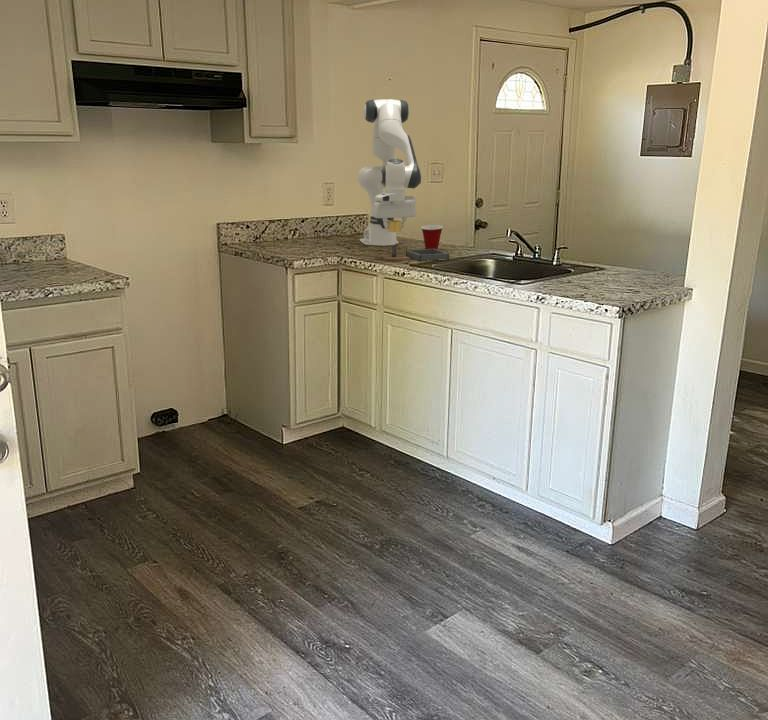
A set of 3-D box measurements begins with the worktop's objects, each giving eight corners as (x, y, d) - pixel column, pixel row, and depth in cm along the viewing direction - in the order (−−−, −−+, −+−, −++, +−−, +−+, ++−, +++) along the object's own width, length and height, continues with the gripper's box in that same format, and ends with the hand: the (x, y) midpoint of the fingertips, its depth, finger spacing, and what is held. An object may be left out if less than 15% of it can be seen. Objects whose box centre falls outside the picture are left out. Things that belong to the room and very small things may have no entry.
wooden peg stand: (378, 257, 352) (378, 243, 350) (399, 256, 357) (400, 242, 355) (388, 261, 343) (388, 247, 341) (410, 259, 347) (410, 246, 345)
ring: (385, 230, 347) (385, 220, 346) (397, 229, 350) (397, 220, 348) (391, 232, 342) (391, 222, 341) (403, 231, 345) (403, 221, 343)
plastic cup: (415, 250, 374) (416, 225, 371) (432, 248, 380) (433, 224, 377) (429, 253, 366) (430, 228, 362) (446, 251, 372) (447, 226, 369)
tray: (405, 256, 356) (405, 250, 355) (433, 254, 361) (434, 248, 360) (419, 261, 343) (420, 255, 342) (448, 259, 348) (449, 253, 348)
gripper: (412, 195, 348) (411, 225, 352) (371, 196, 340) (371, 227, 344) (418, 196, 343) (418, 227, 347) (377, 197, 335) (376, 229, 339)
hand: (394, 227), depth 346 cm, fingers closed on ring, 6 cm apart
